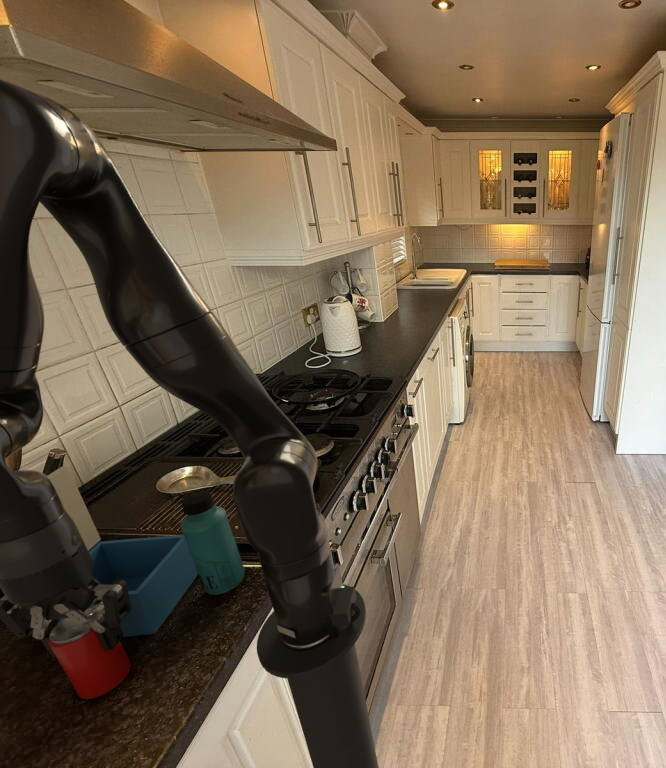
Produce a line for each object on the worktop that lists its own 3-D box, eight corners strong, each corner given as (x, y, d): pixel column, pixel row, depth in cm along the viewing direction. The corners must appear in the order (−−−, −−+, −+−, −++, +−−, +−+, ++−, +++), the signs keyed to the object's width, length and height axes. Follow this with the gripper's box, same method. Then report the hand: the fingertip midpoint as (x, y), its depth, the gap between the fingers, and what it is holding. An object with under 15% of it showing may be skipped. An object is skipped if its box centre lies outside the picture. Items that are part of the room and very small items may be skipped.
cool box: (201, 570, 77) (188, 534, 74) (155, 633, 65) (137, 593, 62) (116, 578, 76) (99, 541, 72) (53, 644, 64) (30, 604, 60)
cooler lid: (67, 466, 67) (24, 468, 66) (-17, 518, 55) (-70, 522, 54) (101, 539, 72) (62, 542, 71) (32, 601, 60) (-16, 606, 60)
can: (140, 656, 62) (115, 603, 58) (112, 696, 57) (82, 641, 53) (99, 661, 61) (70, 608, 57) (66, 702, 56) (32, 646, 52)
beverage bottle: (254, 570, 77) (227, 482, 70) (238, 600, 71) (207, 507, 64) (216, 575, 76) (185, 486, 69) (197, 605, 70) (161, 511, 63)
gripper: (-66, 583, 46) (1, 682, 52) (78, 570, 48) (126, 667, 54) (2, 536, 53) (54, 628, 59) (125, 526, 55) (163, 617, 61)
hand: (88, 646), depth 56 cm, fingers closed on can, 5 cm apart
